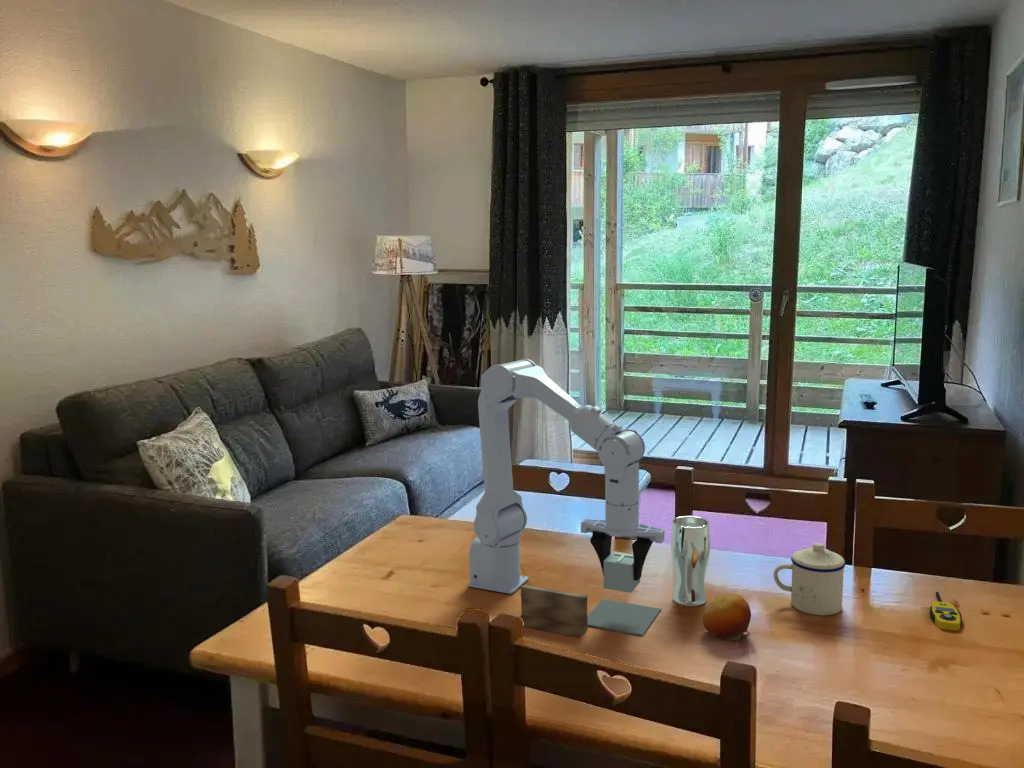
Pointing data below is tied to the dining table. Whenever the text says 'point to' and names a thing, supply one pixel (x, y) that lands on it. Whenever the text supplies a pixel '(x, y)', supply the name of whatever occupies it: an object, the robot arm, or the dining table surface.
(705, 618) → the fruit
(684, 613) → the dining table surface
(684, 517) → the beer glass
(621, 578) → the letter block
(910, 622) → the dining table surface
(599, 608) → the mat
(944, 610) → the yellow walkie talkie
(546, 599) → the screen
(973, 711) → the dining table surface
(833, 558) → the teacup with lid
